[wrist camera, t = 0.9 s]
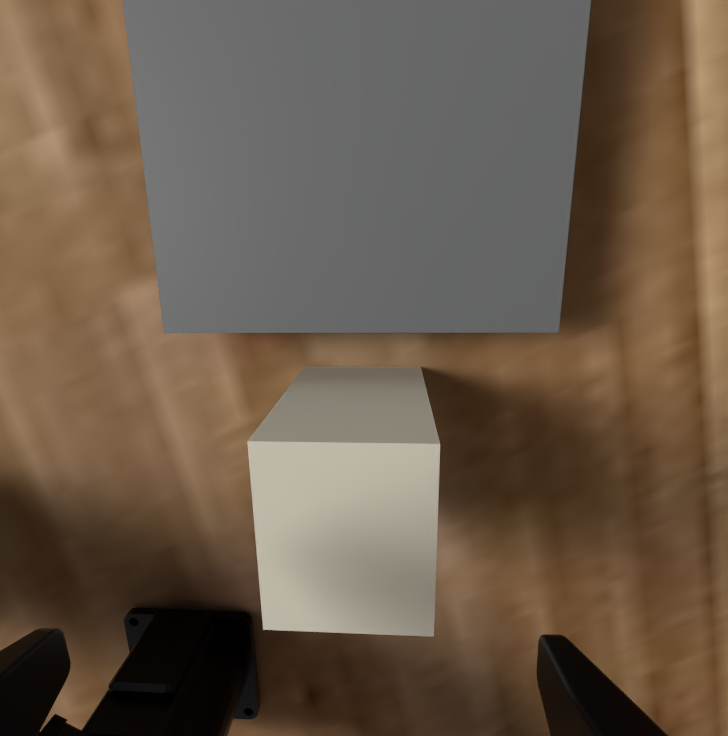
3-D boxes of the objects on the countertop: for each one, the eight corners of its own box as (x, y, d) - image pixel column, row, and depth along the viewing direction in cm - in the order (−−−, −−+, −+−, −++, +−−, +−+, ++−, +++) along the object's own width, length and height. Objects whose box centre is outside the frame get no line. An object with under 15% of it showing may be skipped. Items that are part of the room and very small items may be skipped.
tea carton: (418, 492, 21) (433, 636, 13) (310, 490, 21) (263, 629, 13) (420, 366, 19) (440, 443, 11) (304, 366, 19) (247, 441, 12)
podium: (532, 320, 18) (558, 332, 15) (198, 321, 19) (164, 333, 16) (560, -29, 15) (600, -95, 12) (164, -9, 16) (114, -67, 13)
